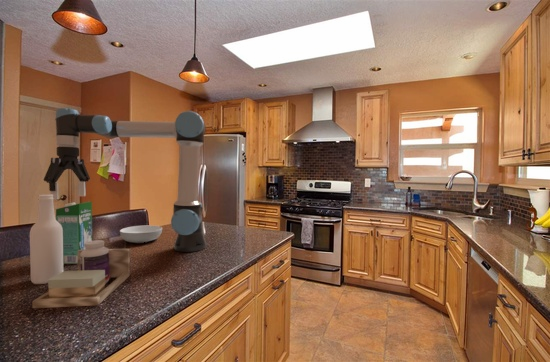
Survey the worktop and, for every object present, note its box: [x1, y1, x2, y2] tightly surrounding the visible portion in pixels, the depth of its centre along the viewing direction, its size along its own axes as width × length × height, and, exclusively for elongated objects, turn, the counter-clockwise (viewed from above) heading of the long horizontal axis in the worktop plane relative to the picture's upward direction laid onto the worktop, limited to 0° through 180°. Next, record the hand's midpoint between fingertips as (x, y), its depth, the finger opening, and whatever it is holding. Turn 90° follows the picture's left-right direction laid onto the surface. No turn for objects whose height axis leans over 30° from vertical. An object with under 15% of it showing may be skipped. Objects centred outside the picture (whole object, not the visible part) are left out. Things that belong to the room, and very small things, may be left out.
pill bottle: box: [80, 239, 110, 285], centre depth 91 cm, size 8×8×14 cm
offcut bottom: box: [48, 284, 106, 299], centre depth 82 cm, size 12×7×2 cm, turn 97°
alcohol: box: [29, 193, 64, 285], centre depth 94 cm, size 9×9×30 cm
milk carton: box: [55, 201, 93, 265], centre depth 115 cm, size 9×9×25 cm
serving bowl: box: [119, 224, 163, 244], centre depth 148 cm, size 21×21×7 cm
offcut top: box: [47, 270, 105, 289], centre depth 82 cm, size 12×7×2 cm, turn 96°
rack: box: [31, 248, 131, 309], centre depth 87 cm, size 17×22×10 cm
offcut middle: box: [48, 278, 106, 298], centre depth 82 cm, size 12×7×2 cm, turn 101°
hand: (69, 197), depth 112 cm, fingers open, 13 cm apart
